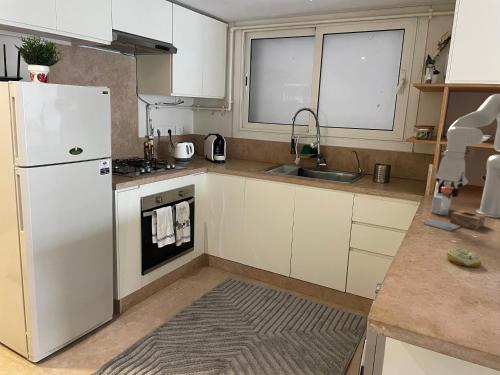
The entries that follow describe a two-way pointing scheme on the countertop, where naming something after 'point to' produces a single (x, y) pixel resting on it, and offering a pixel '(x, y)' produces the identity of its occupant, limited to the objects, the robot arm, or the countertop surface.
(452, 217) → the eye block
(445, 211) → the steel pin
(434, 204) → the medicine box
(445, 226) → the rubber mat
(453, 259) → the decorated donut
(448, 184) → the candy bar box
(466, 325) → the countertop surface
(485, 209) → the robot arm
